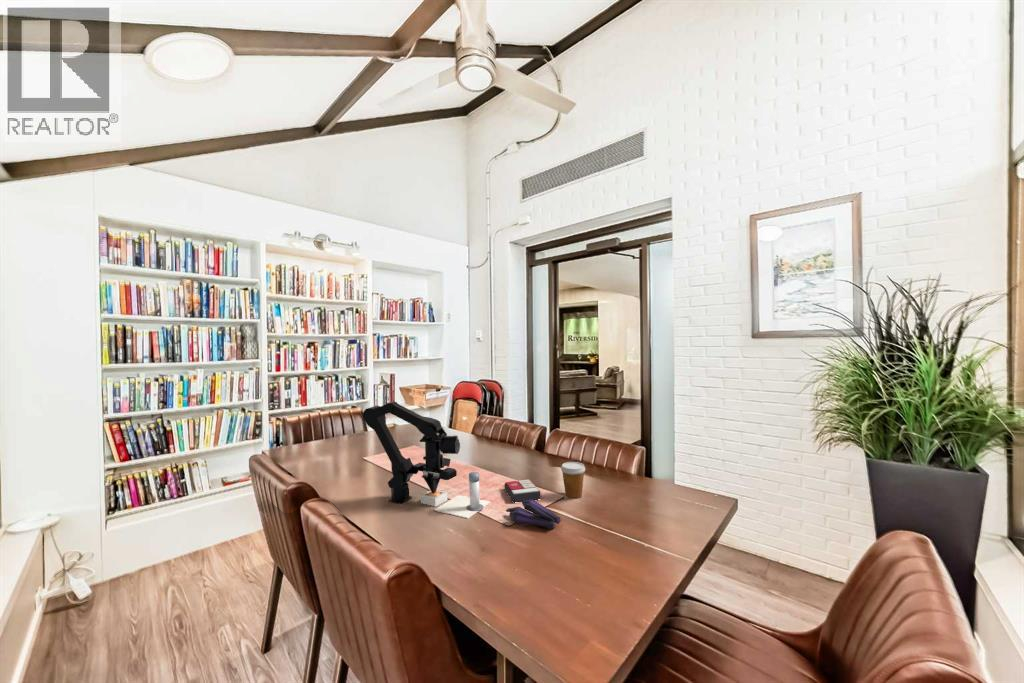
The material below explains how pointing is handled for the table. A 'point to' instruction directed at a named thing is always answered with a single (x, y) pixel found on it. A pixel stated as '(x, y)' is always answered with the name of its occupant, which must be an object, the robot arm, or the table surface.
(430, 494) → the button
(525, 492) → the red gray flat box
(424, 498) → the button housing
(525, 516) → the purple stapler
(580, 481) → the disposable coffee cup
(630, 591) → the table surface
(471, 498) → the white gray cylinder
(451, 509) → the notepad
